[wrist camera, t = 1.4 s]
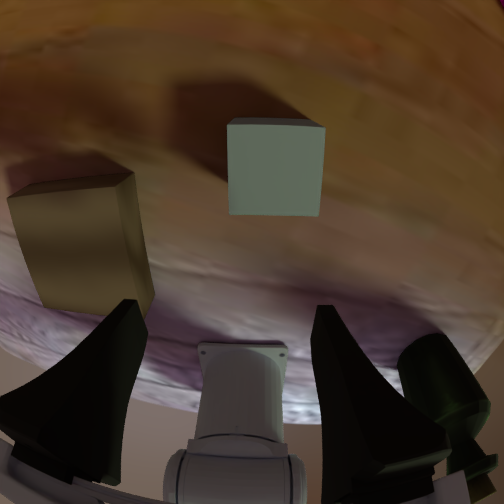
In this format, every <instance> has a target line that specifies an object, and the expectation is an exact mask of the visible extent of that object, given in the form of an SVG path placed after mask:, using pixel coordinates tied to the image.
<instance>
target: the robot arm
mask: <svg viewBox="0 0 504 504" xmlns="http://www.w3.org/2000/svg"><path fill="white" fill-rule="evenodd" d="M147 336H148V331H147V328H146V325H145V322H144V319H143V316H142V313H141V310H140V307H139V304H138V301H137V300H136V299H123V300H122V301H121V302H120V303H119V304H118V305H117V306H116V307H115V308H114V309H113V310H112V311H111V313H110V314H109V315H108V316H107V317H106V318H105V319H104V320H103V321H102V322H101V323H100V324H99V325H98V326H97V327H96V328H95V329H94V330H93V331H92V332H91V333H90V334H89V335H88V336H87V337H86V338H85V339H84V340H83V341H82V342H81V343H80V344H79V345H78V346H77V347H76V348H75V349H74V350H72V351H71V352H70V353H69V354H68V355H67V356H65V357H64V358H63V359H62V360H60V361H59V362H58V363H57V364H55V365H54V366H53V367H51V368H50V369H48V370H47V371H45V372H44V373H43V374H41V375H40V376H38V377H37V378H35V379H33V380H32V381H30V382H28V383H26V384H25V385H23V386H21V387H19V388H17V389H15V390H13V391H11V392H9V393H7V394H4V395H2V396H1V397H0V430H1V431H2V432H4V433H5V434H6V435H8V436H9V437H10V438H11V439H13V440H14V441H15V444H14V446H12V445H11V444H9V443H8V442H6V441H4V440H3V439H1V438H0V493H1V494H2V495H4V496H5V497H6V498H8V499H9V500H10V501H12V502H13V503H15V504H105V503H104V502H106V503H109V504H306V503H307V479H306V471H305V466H304V463H303V461H302V460H301V459H299V458H298V457H297V455H296V454H289V455H288V448H287V444H286V443H284V440H283V439H284V438H283V411H282V392H283V385H284V378H285V371H286V363H287V356H288V347H287V346H286V345H251V344H221V343H199V344H198V347H197V349H198V355H199V360H200V365H201V371H202V376H203V387H202V393H201V399H200V405H199V411H198V418H197V425H196V431H195V437H194V439H189V440H188V445H187V450H186V449H179V450H178V451H177V452H176V453H175V454H174V455H172V456H171V458H170V459H169V461H168V464H167V466H166V470H165V475H164V481H163V500H164V501H159V500H154V499H150V498H145V497H141V496H137V495H132V494H129V493H125V492H121V491H118V490H114V489H111V488H108V487H104V486H101V485H98V484H95V483H92V481H94V482H97V483H101V482H102V483H105V484H108V485H112V486H117V485H118V484H120V483H121V451H122V439H123V431H124V425H125V418H126V413H127V407H128V403H129V399H130V395H131V392H132V389H133V386H134V383H135V380H136V377H137V374H138V371H139V368H140V365H141V362H142V359H143V356H144V351H145V347H146V342H147ZM310 342H311V357H312V365H313V371H314V377H315V382H316V388H317V393H318V399H319V405H320V412H321V423H322V449H323V471H322V472H323V473H322V496H321V504H471V503H470V498H469V493H468V488H467V483H466V478H465V474H464V471H463V470H460V471H458V472H455V473H453V474H450V475H447V476H445V477H442V478H439V479H437V480H435V481H432V475H434V474H435V470H434V465H436V464H437V463H439V462H441V461H442V460H444V459H445V458H446V457H448V456H449V455H450V454H451V452H452V448H451V444H450V440H449V437H448V434H447V432H446V429H445V428H443V427H442V426H440V425H439V424H437V423H436V422H434V421H433V420H431V419H430V418H428V417H427V416H425V415H424V414H423V413H421V412H420V411H419V410H418V409H416V408H415V407H414V406H413V405H412V404H411V403H410V402H408V401H407V400H406V399H405V398H404V397H403V396H402V395H401V394H400V393H398V392H397V391H396V390H395V389H394V388H393V387H392V385H391V384H390V383H389V382H388V381H387V380H386V379H385V378H384V377H383V376H382V375H381V374H380V372H379V371H378V370H377V369H376V368H375V366H374V365H373V364H372V363H371V361H370V360H369V359H368V357H367V356H366V355H365V353H364V352H363V351H362V349H361V348H360V346H359V345H358V344H357V342H356V341H355V339H354V338H353V336H352V335H351V333H350V332H349V330H348V329H347V327H346V325H345V324H344V322H343V321H342V319H341V317H340V316H339V314H338V312H337V310H336V309H335V307H334V306H333V305H317V309H316V314H315V319H314V324H313V329H312V333H311V338H310ZM204 351H205V352H204ZM281 353H283V354H281Z"/></svg>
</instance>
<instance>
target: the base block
mask: <svg viewBox="0 0 504 504" xmlns="http://www.w3.org/2000/svg"><path fill="white" fill-rule="evenodd" d="M7 202H8V206H9V210H10V214H11V217H12V221H13V225H14V228H15V231H16V235H17V238H18V241H19V244H20V247H21V250H22V253H23V256H24V259H25V261H26V264H27V267H28V270H29V272H30V275H31V277H32V280H33V282H34V285H35V287H36V290H37V292H38V295H39V297H40V299H41V301H42V304H43V306H44V307H45V308H51V309H58V310H65V311H72V312H79V313H87V314H96V315H104V316H108V315H109V314H110V313H111V311H112V310H113V309H114V308H115V307H116V306H117V305H118V304H119V303H120V302H121V301H122V300H123V299H136V300H137V301H138V304H139V307H140V310H141V313H142V316H143V319H145V316H146V314H147V312H148V310H149V307H150V305H151V303H152V300H153V298H154V296H155V292H154V288H153V283H152V278H151V273H150V269H149V264H148V258H147V253H146V248H145V242H144V237H143V231H142V225H141V219H140V212H139V205H138V198H137V191H136V184H135V175H134V173H123V174H111V175H100V176H90V177H81V178H73V179H64V180H57V181H49V182H42V183H36V184H29V185H28V186H26V187H24V188H23V189H21V190H19V191H18V192H16V193H14V194H13V195H11V196H9V197H8V198H7Z"/></svg>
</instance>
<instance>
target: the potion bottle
mask: <svg viewBox="0 0 504 504" xmlns="http://www.w3.org/2000/svg"><path fill="white" fill-rule="evenodd" d="M397 368H398V372H399V377H400V381H401V385H402V389H403V393H404V398H405V399H406V400H407V401H408V402H410V403H411V404H412V405H413V406H414V407H415V408H416V409H418V410H419V411H420V412H421V413H423V414H424V415H425V416H427V417H428V418H430V419H431V420H433V421H434V422H436V423H437V424H439V425H440V426H442V427H443V428H445V429H446V432H447V434H448V437H449V440H450V444H451V448H452V452H451V454H450V455H449V456H448V457H447V475H450V474H453V473H455V472H458V471H460V470H463V471H464V474H465V478H466V483H467V488H468V493H469V498H470V503H471V504H475V503H477V502H479V501H481V500H483V499H484V498H486V497H488V496H490V495H492V494H493V493H495V492H496V491H497V490H496V489H495V487H494V486H493V484H492V482H491V480H490V479H489V477H488V475H487V474H488V473H490V472H491V471H493V470H494V469H495V468H496V467H497V466H498V454H492V455H487V456H486V454H485V453H484V452H483V450H482V449H481V448H480V446H479V445H478V444H477V442H476V441H475V440H474V439H475V437H476V436H477V435H478V433H479V432H480V430H481V429H482V427H483V426H484V424H485V423H486V421H487V419H488V417H489V415H490V406H491V403H490V401H489V399H488V398H487V396H486V394H485V393H484V391H483V389H482V388H481V386H480V384H479V383H478V381H477V380H476V378H475V377H474V375H473V373H472V372H471V370H470V369H469V367H468V366H467V364H466V363H465V361H464V360H463V358H462V357H461V355H460V354H459V352H458V351H457V349H456V348H455V346H454V345H453V344H452V342H451V341H450V339H449V338H448V337H447V336H446V335H441V334H432V335H427V336H425V337H422V338H420V339H418V340H416V341H415V342H414V343H412V344H411V345H410V346H408V347H407V348H406V349H405V351H404V352H403V353H402V354H401V356H400V358H399V361H398V363H397Z"/></svg>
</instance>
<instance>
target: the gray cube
mask: <svg viewBox="0 0 504 504" xmlns="http://www.w3.org/2000/svg"><path fill="white" fill-rule="evenodd" d="M324 145H325V127H323V126H322V125H320V124H318V123H316V122H314V121H312V120H309V119H291V118H234V119H233V120H232V121H231V122H230V123H228V124H227V150H228V194H229V215H287V216H319V207H320V196H321V185H322V173H323V160H324Z"/></svg>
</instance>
